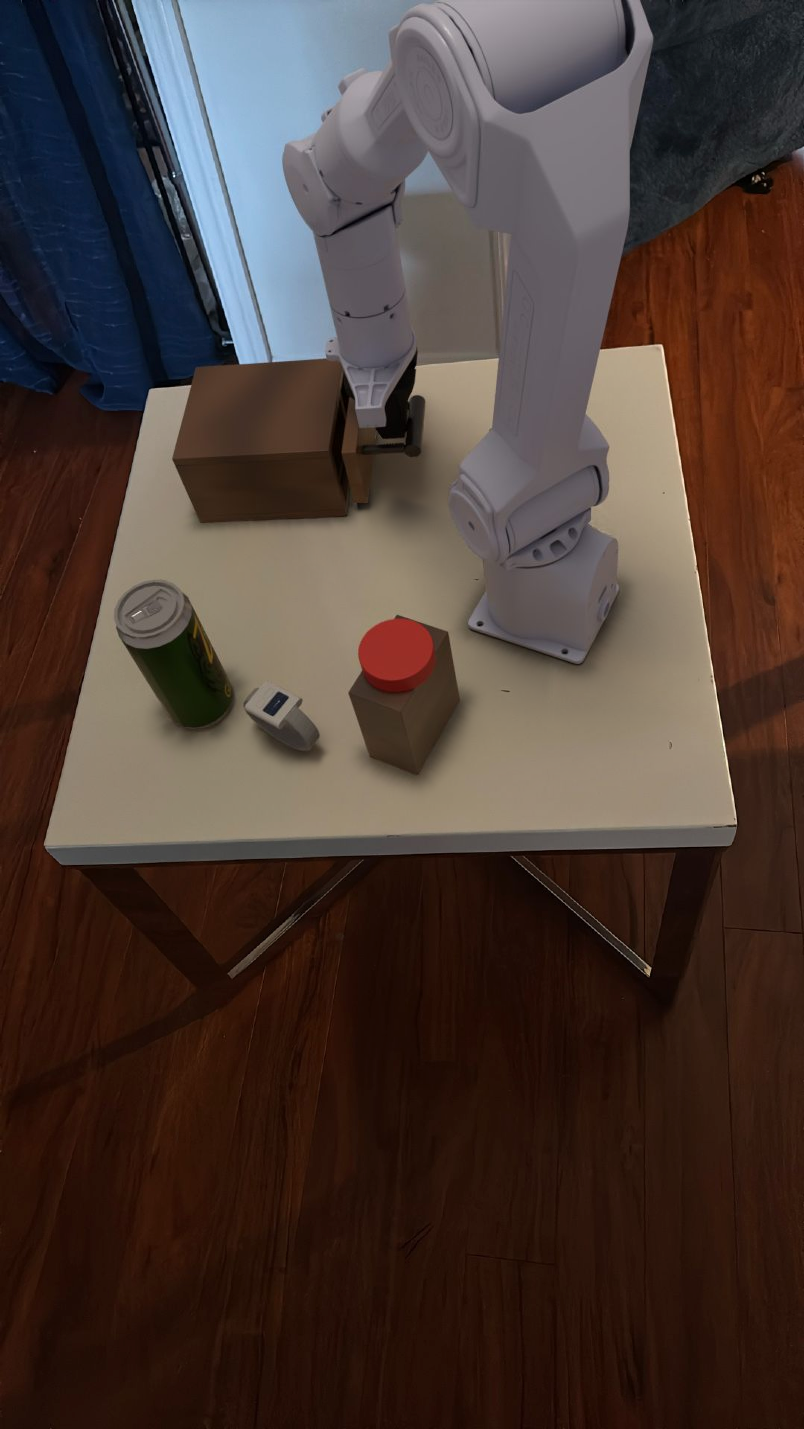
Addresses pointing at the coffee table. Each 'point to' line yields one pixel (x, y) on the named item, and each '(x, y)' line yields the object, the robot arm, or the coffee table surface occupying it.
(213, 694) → the beer can
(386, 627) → the lid
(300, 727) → the wristwatch
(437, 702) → the stand
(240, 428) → the cabinet
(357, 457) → the drawer
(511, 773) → the coffee table surface
